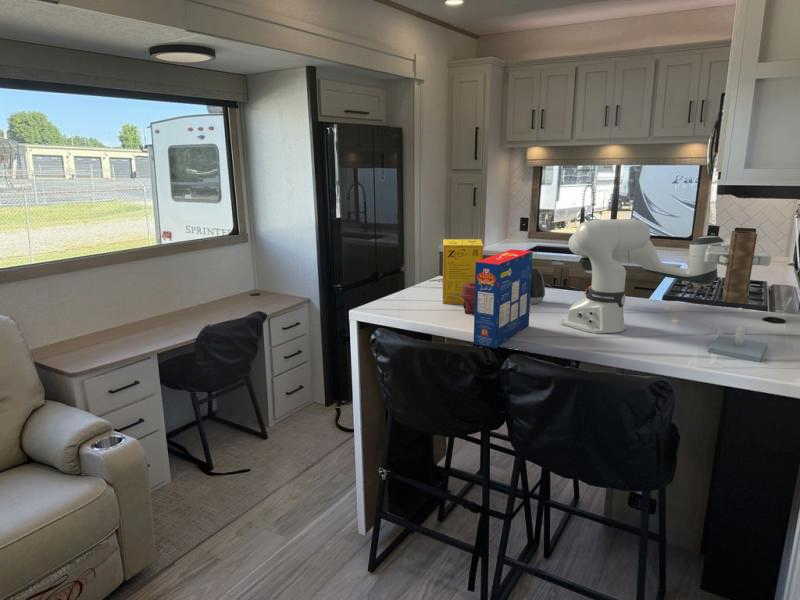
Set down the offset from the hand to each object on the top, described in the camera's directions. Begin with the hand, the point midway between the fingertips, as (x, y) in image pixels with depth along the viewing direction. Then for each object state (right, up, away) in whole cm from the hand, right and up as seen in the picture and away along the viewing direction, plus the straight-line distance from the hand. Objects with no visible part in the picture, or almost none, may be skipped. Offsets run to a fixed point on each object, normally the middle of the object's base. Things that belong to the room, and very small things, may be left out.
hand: (740, 261), depth 190 cm
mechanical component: (-88, -18, +31) cm, 95 cm away
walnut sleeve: (+1, -13, +5) cm, 14 cm away
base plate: (-9, -29, -13) cm, 33 cm away
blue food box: (-81, -25, +5) cm, 85 cm away
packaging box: (-90, -13, +52) cm, 104 cm away
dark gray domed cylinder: (-61, -14, +45) cm, 77 cm away
